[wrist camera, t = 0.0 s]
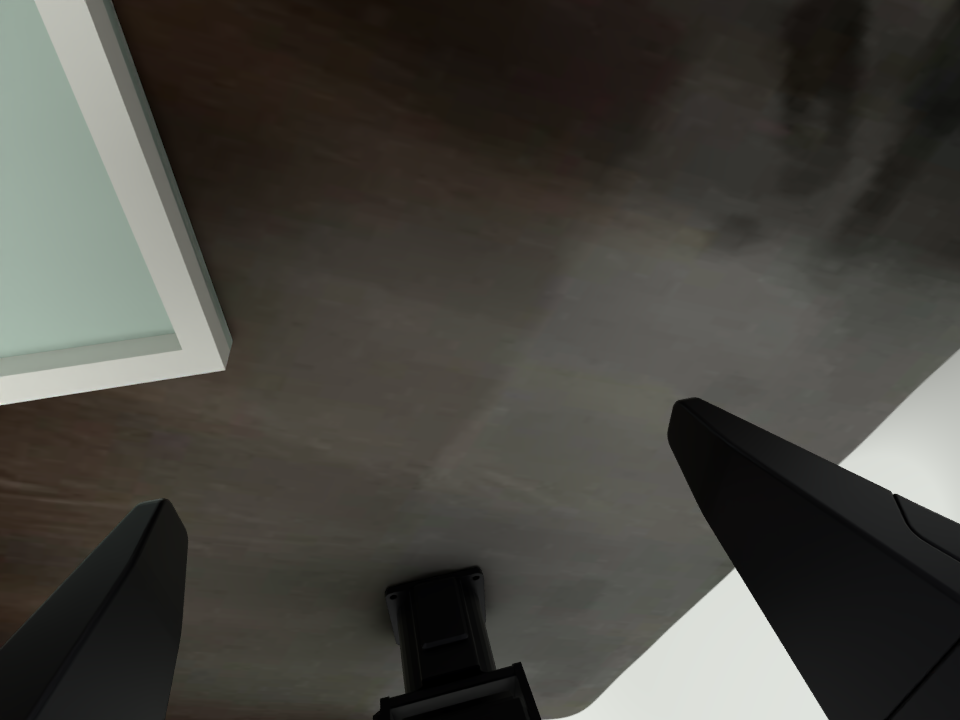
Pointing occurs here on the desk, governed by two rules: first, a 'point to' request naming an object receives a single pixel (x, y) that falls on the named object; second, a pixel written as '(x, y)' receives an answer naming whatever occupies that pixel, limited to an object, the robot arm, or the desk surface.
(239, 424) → the desk surface
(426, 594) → the robot arm
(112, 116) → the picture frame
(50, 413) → the desk surface
